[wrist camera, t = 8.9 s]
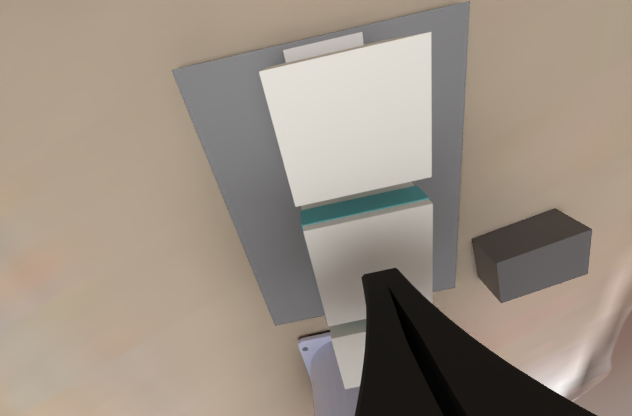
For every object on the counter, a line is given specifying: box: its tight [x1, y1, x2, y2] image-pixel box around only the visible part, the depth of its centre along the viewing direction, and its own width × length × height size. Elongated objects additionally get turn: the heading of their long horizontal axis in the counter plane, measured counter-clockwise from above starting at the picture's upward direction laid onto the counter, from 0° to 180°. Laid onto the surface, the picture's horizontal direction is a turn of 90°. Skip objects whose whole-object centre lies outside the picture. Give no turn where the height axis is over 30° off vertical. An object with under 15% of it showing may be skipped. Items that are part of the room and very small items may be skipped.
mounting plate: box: [172, 1, 470, 389], centre depth 15 cm, size 18×14×7 cm
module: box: [300, 182, 433, 327], centre depth 14 cm, size 6×5×5 cm
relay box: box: [472, 209, 592, 303], centre depth 20 cm, size 4×6×3 cm, turn 112°
